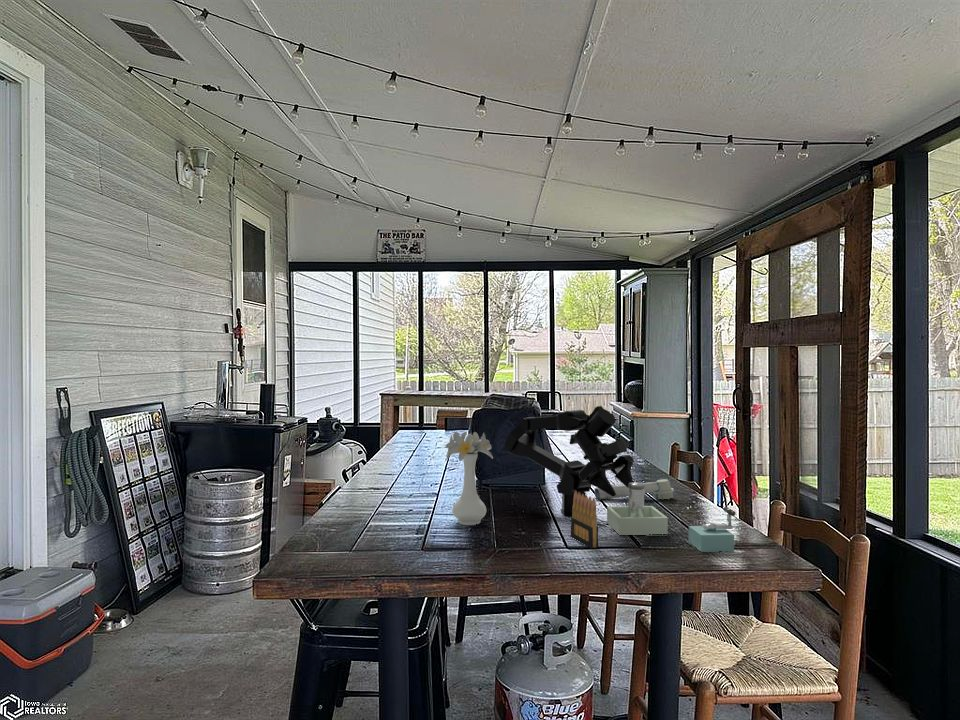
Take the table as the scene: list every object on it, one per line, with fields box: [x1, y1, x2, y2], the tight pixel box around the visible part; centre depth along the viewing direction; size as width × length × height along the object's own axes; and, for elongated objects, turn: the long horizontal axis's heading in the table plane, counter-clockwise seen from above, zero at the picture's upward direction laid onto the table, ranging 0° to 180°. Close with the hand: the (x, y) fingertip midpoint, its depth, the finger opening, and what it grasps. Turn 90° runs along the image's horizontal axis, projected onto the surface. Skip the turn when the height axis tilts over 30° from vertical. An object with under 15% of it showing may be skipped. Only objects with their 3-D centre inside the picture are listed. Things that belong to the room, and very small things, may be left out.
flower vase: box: [444, 431, 494, 526], centre depth 186 cm, size 13×18×25 cm
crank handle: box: [701, 506, 736, 531], centre depth 165 cm, size 7×5×5 cm
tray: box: [606, 505, 669, 536], centre depth 180 cm, size 13×13×4 cm
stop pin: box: [628, 481, 645, 517], centre depth 180 cm, size 4×4×11 cm
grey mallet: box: [594, 478, 675, 501], centre depth 215 cm, size 5×7×25 cm
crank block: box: [688, 525, 735, 553], centre depth 165 cm, size 8×8×4 cm
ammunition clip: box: [570, 491, 599, 550], centre depth 168 cm, size 11×2×12 cm, turn 21°
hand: (624, 493), depth 183 cm, fingers open, 9 cm apart
